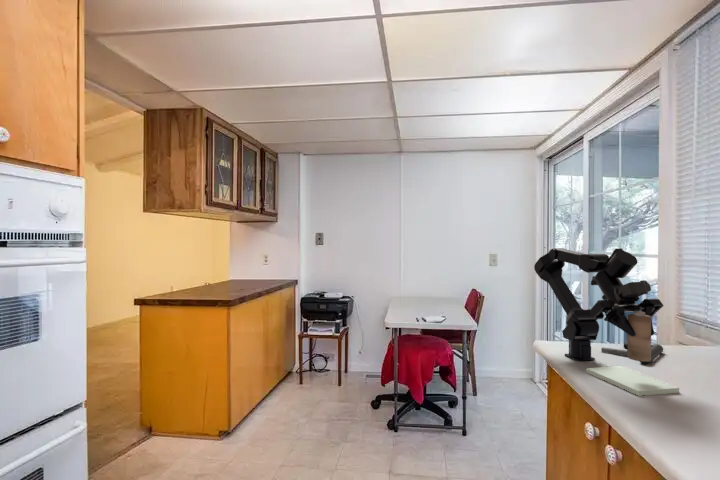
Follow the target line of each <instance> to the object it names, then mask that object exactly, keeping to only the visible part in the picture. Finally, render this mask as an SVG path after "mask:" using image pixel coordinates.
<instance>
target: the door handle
mask: <svg viewBox="0 0 720 480" xmlns="http://www.w3.org/2000/svg"><path fill="white" fill-rule="evenodd" d="M600 349H601V353H605V354H612V355H617V356H621V357H628V341H626V342H624V343H623V349H621V348H620V349H619V348H612V347H601V348H600ZM662 353H664V347H663V346H662V345H661V344H651V361H647V362H645V361H639V362H640V364H642V365H647V364H650V363H651V362H655V361H656V360H657V359H658V358H660V355H661V354H662Z"/></svg>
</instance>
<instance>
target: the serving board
mask: <svg viewBox="0 0 720 480" xmlns="http://www.w3.org/2000/svg"><path fill="white" fill-rule="evenodd" d="M585 371H586V373H587V374H588V375H591V376H594V377H596V378H598V379H599V380H602V381H604V380H605V381H604V382H606V381H607V382H606V383H609V384H611V385H613V384H614V385H613V386H615V385H616V387H617V386H618V388H620V389H622V390H624V389H625V391H626V390H627V392H628V391H629V392H628V393H632V394H633V395H635V394H636V395H635V396H637V395H638V396H637V397H643V396H642V395H645V396H654V395H669V394H678V393H680V387H678V386H675V385H672V384H670V383H667V382H665V381H663V380H660V379H659V378H658V379H657V378H656V377H652V376H650V375H648V374H644V373H643V372H639V371H637V370H634V369H631V368H629V367H626V366H624V365H618V366H617V365H616V366H602V367H601V366H600V367H588V368H586V370H585Z"/></svg>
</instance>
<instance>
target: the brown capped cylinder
mask: <svg viewBox="0 0 720 480" xmlns="http://www.w3.org/2000/svg"><path fill="white" fill-rule="evenodd" d="M627 320H628V321H629V323H630V325H631V326H632V328H633V330H634V332H635V336H631V335H629V334H628V333H627V342H628V349H627V350H628V356H627V358H628V359H630V360H632V361H638V362H640V361H645V362H647V361H651V345H652V336H651V321H652V317H651V316H648V315H645V312H641V311H634V313H628V314H627ZM651 362H652V361H651Z"/></svg>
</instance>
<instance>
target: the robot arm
mask: <svg viewBox="0 0 720 480" xmlns="http://www.w3.org/2000/svg"><path fill="white" fill-rule="evenodd" d="M565 263H567V264H570V265H575V266H577V267H578V268H579V269H580V270H581V271H583V272H585V273H587V274H589V273H591V274H592V273H596V275H595V276H592V278H591V281H590V285H591V286H598V287H599V289H600V291H601V292H602V294H603V295H602V297H601V298H602V299H599V300H597V301H596V302H595V303H594V304H593V306H592V307H591V308H590V309H584V308H582V306H581V305H580V303H579V301H578V300H577V298H576V297H575V296H574V294H573V292H572V291H571V289H570V288H569V286H568V284H567V283H566V281H565V280H564V278H563V276H562V275H563V268H564V267H565V265H566V264H565ZM636 265H638V259H637V257H636V256H635V255H633V254H631V253H630V252H629V251H625V250H624V249H623V248H621V247H620V248H614V249H613V251H612V253H611V255H610V256H609V255H608V254H606V253H584V252H579V251H574V250H570V249H566V248H565V247H554V248H553V247H552V248H551V249H550V250H549V251H548V252H547V253H545V254H544V255H542V256H540V257H539V258H538V259H537V261H536V262H535V264H534V266H533V267H534V271H535V273H536V275H537V276H538V277H539V278H540V280H542V281H544V282H546V283H547V284H548V285H549V286H550V288H551V290H552V293H554V295H555V298H556V299H557V300H558V302H559V304H560V305H561V307H562V309H563V311H564V312H565V314H566V322H565V323H566V326H565V328H564V329H562V331H561V332H562V337H563V338H564V339H566V340H568V353H564V356H565V357H568V358H570V359H573V360H574V361H577V362H581V361H595V360H596V358H595V357H593V356H592V346H591V345H592V341H597V339H598V334H599V331H600V324H599V322H598V320H602V319H603V320H604V322H608V323H610V324H611V325H614V326H615V327H616V328H618V329H620V330H621V331H623V332H624V333H626V334H627V335H628V334H629V335H631V336H635V332H634V330H633V328H632V326H631V325H630V323H629V321H628V317H626V315H625V313H632V314H634V311H641V312H645V315H648V316H651V318H652V317H654V316H655V315H656V314H657V313H658V312H659V311H660V310H661V309H662V308H663V307H664V304H663V303H662V301H661V300H660V299H659V298H643V300H642V301H641V302H639V304H638V303H636V302H638V301H639V300H640V296H643V295H648V294H649V292H651V291H652V286H651V284H650V283H649V282H648V281H647V280H640V281H632V282H627V283H625V284H623V282H622V281H621V280H620V279H624V278H626V277H627V276H628V275H629V273H630V272H631V271H632V270H633V269H634V268H635V267H636ZM654 335H655V331H654V327H653V322H652V320H651V337H652V336H654Z"/></svg>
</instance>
